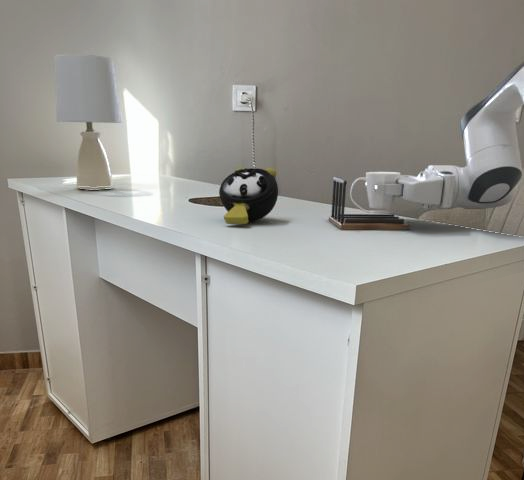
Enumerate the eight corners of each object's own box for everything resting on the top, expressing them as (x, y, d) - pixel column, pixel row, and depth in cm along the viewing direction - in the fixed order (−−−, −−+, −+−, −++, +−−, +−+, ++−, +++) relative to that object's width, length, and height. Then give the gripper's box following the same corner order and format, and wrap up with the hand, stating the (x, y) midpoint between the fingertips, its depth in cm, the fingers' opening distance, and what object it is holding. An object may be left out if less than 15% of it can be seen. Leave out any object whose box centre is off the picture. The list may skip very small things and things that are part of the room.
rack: (390, 220, 124) (395, 177, 120) (408, 230, 112) (414, 182, 109) (328, 220, 122) (331, 176, 119) (340, 229, 111) (344, 181, 108)
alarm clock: (210, 239, 120) (200, 171, 120) (270, 236, 126) (260, 172, 126) (231, 222, 109) (219, 148, 109) (295, 220, 115) (284, 150, 116)
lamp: (128, 186, 185) (119, 62, 171) (122, 192, 168) (112, 55, 154) (70, 186, 183) (57, 60, 169) (58, 192, 166) (42, 52, 152)
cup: (399, 214, 113) (402, 173, 110) (349, 214, 114) (352, 173, 111) (395, 211, 120) (398, 171, 117) (348, 210, 120) (350, 171, 118)
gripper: (419, 168, 124) (359, 168, 123) (458, 175, 105) (387, 174, 104) (416, 197, 126) (357, 197, 125) (453, 209, 108) (383, 209, 106)
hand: (370, 187), depth 114 cm, fingers closed on cup, 6 cm apart
